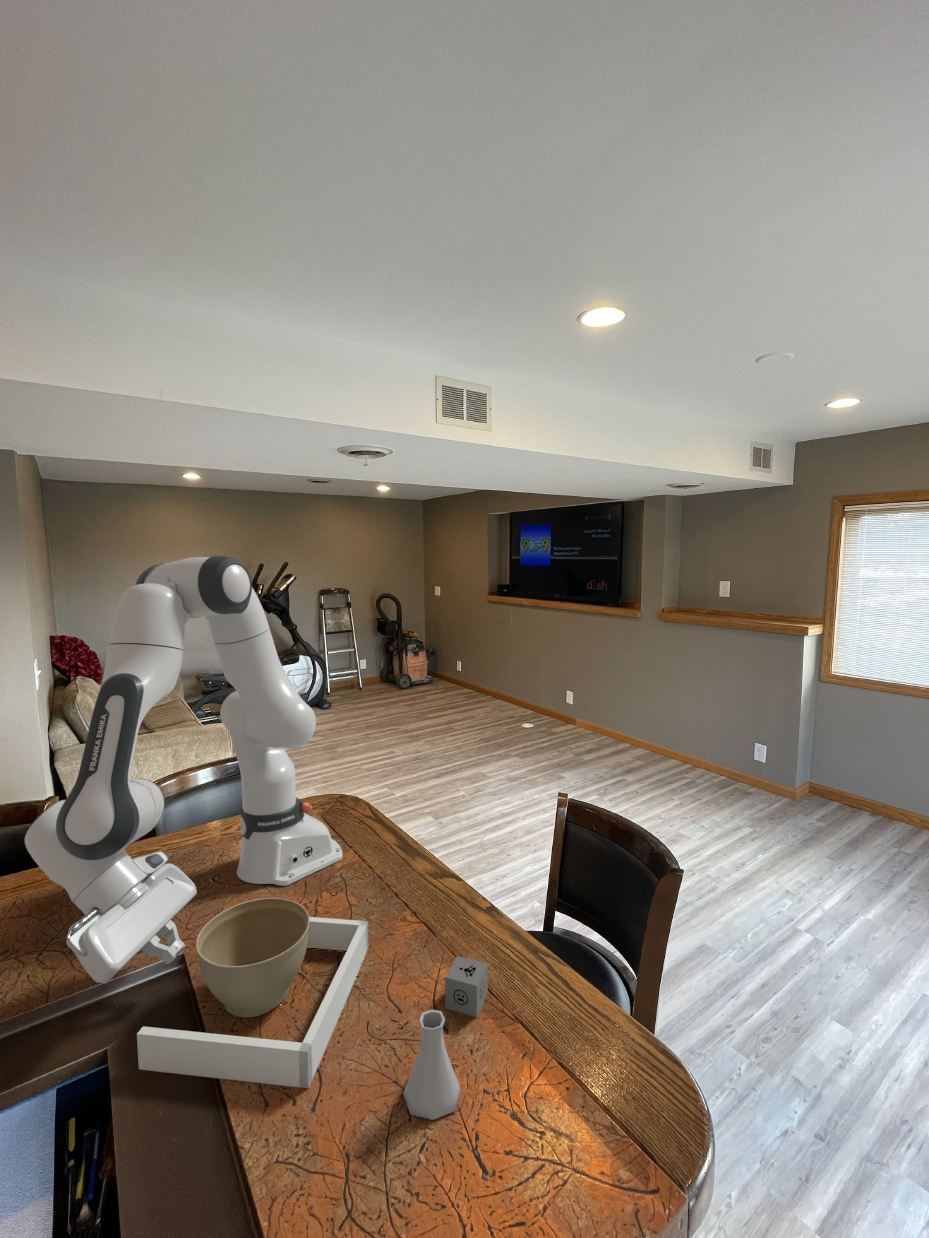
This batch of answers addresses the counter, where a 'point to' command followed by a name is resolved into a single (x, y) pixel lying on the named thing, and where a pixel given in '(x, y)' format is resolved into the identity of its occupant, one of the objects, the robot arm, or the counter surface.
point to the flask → (432, 1073)
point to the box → (255, 1054)
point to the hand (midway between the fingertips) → (177, 955)
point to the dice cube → (466, 986)
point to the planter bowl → (253, 953)
